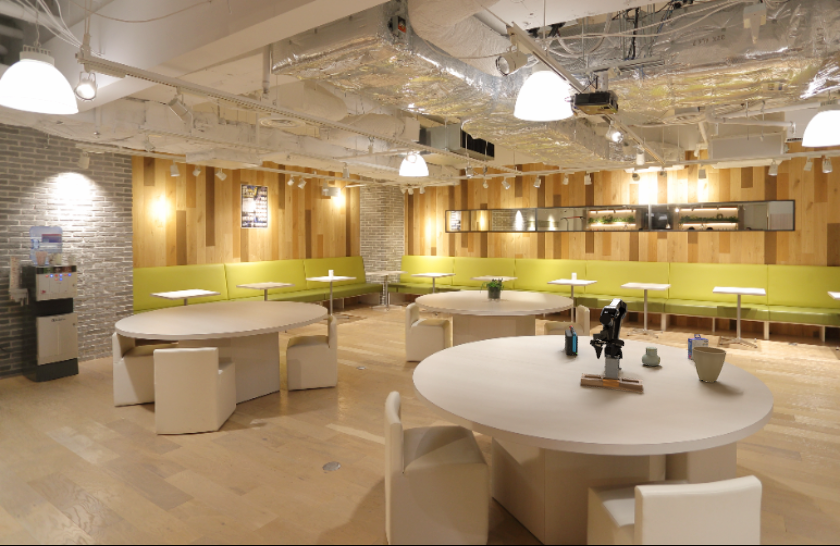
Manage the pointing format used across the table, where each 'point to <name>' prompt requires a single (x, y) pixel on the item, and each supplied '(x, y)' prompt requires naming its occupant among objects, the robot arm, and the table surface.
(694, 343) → the ink cartridge box
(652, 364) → the air freshener
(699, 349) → the plant pot
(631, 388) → the slot rack
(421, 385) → the table surface
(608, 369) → the gray rectangular block
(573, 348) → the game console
